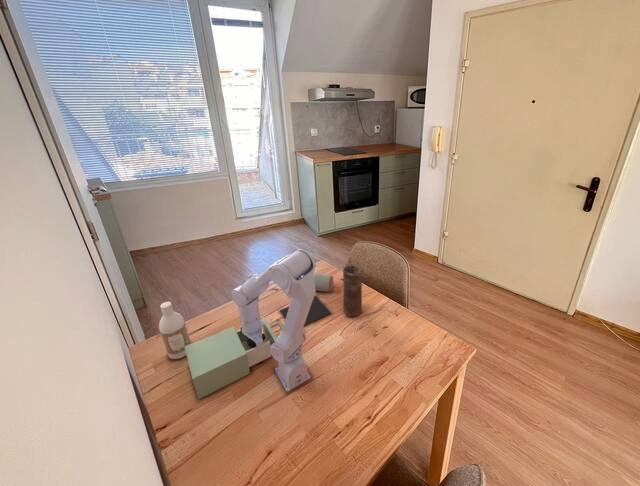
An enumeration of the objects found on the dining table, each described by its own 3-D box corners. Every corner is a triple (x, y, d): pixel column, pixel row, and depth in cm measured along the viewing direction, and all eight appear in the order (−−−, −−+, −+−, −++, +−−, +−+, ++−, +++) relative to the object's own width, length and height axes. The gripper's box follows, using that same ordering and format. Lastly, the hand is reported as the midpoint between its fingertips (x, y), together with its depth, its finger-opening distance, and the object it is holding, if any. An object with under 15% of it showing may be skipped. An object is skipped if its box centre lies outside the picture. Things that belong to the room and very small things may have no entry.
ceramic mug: (330, 295, 127) (330, 280, 124) (312, 293, 128) (311, 279, 125) (334, 281, 137) (334, 267, 134) (317, 279, 137) (317, 265, 134)
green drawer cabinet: (237, 345, 102) (233, 326, 98) (250, 373, 92) (246, 353, 88) (190, 366, 94) (184, 346, 90) (198, 399, 84) (192, 378, 80)
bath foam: (169, 363, 94) (152, 315, 86) (167, 348, 99) (152, 302, 91) (193, 354, 98) (179, 307, 89) (190, 340, 103) (177, 294, 95)
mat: (330, 313, 117) (330, 312, 117) (293, 331, 108) (293, 330, 108) (315, 296, 126) (315, 295, 126) (279, 311, 118) (279, 310, 117)
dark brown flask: (340, 307, 120) (340, 266, 112) (356, 302, 123) (357, 262, 115) (347, 319, 114) (348, 277, 106) (364, 314, 117) (366, 272, 109)
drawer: (278, 325, 109) (277, 311, 106) (293, 347, 100) (291, 332, 97) (227, 348, 99) (224, 333, 96) (238, 375, 90) (235, 359, 87)
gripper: (270, 324, 89) (275, 356, 95) (255, 299, 100) (259, 329, 106) (247, 335, 86) (253, 367, 91) (233, 307, 96) (239, 338, 102)
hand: (255, 347), depth 98 cm, fingers closed on bottle, 4 cm apart
